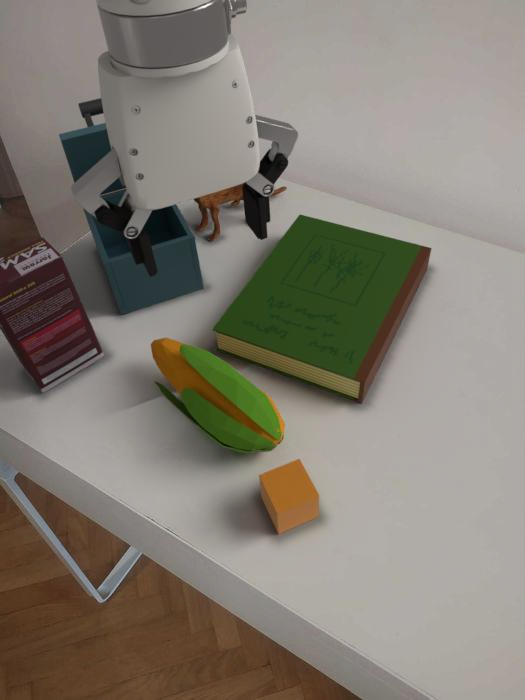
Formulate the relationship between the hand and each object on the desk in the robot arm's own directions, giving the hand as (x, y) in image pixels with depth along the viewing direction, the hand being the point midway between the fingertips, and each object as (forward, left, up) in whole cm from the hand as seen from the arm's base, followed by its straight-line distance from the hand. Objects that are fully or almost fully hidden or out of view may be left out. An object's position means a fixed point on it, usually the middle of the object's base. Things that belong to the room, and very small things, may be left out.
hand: (203, 247), depth 48 cm
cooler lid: (-2, +29, -7) cm, 30 cm away
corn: (-2, 0, -22) cm, 22 cm away
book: (+17, +9, -22) cm, 29 cm away
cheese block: (+1, -14, -22) cm, 26 cm away
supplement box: (-16, +14, -22) cm, 31 cm away
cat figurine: (+14, +32, -22) cm, 41 cm away
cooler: (-2, +26, -22) cm, 34 cm away
